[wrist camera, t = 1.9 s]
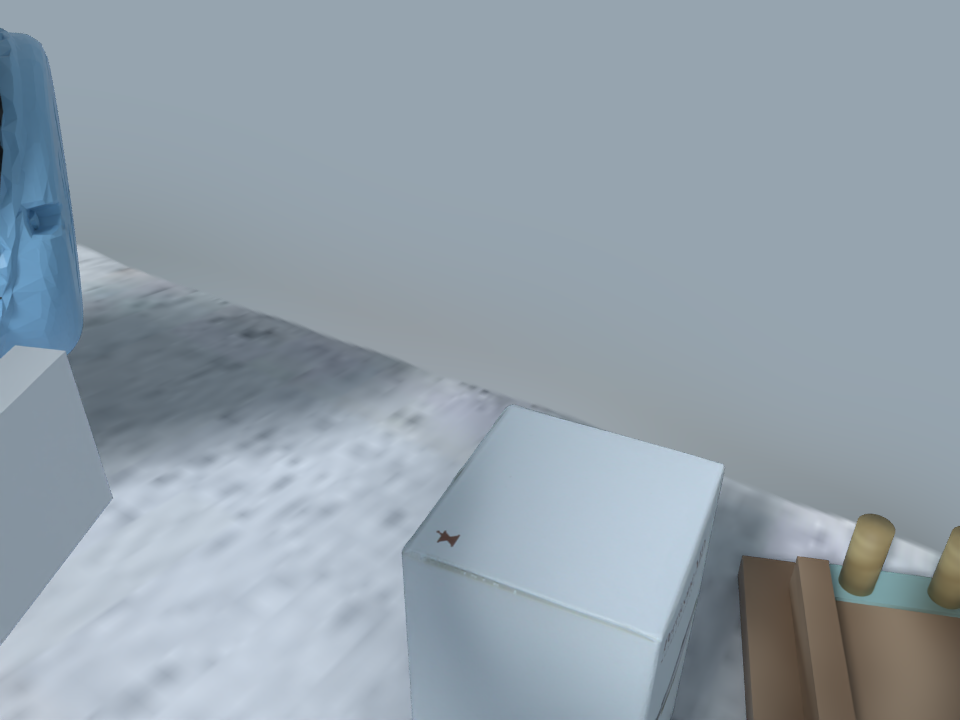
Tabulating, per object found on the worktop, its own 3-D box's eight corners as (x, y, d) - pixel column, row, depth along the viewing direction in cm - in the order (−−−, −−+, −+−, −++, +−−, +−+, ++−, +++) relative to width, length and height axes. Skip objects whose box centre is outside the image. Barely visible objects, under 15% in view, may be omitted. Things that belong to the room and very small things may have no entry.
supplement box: (616, 903, 28) (662, 649, 21) (411, 802, 31) (389, 546, 23) (679, 713, 34) (733, 460, 26) (501, 642, 36) (505, 394, 29)
